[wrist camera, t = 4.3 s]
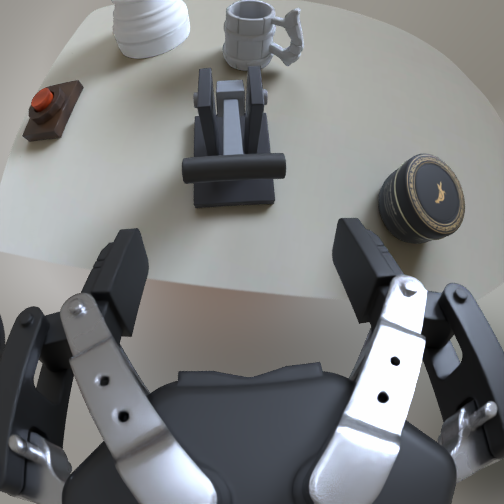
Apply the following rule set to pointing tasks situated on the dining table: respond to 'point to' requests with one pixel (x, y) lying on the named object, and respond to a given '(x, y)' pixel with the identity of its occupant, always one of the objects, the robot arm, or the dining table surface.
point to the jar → (422, 200)
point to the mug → (259, 35)
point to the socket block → (53, 112)
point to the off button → (42, 99)
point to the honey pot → (149, 26)
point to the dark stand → (211, 143)
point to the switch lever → (232, 146)
